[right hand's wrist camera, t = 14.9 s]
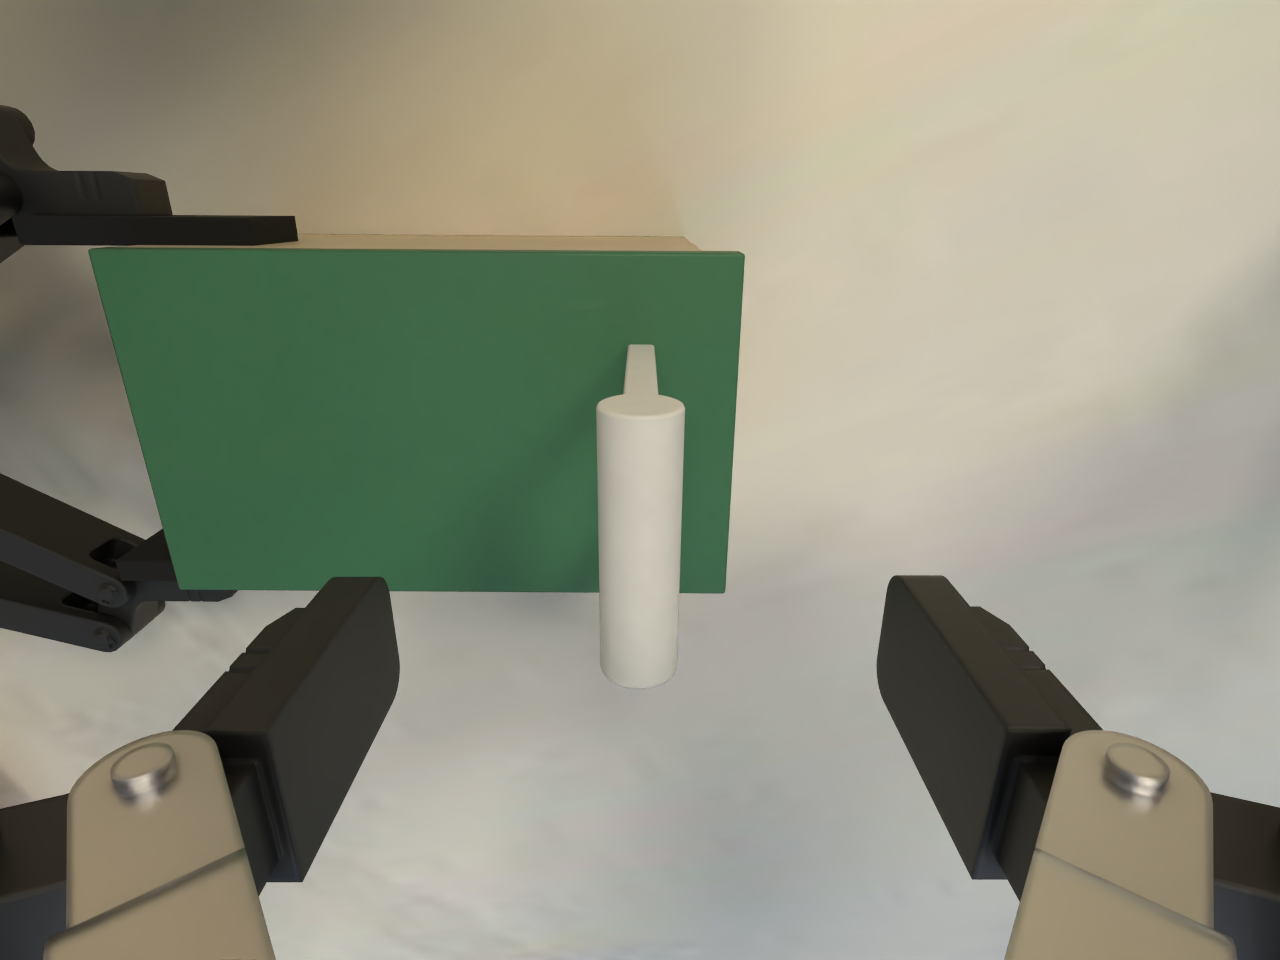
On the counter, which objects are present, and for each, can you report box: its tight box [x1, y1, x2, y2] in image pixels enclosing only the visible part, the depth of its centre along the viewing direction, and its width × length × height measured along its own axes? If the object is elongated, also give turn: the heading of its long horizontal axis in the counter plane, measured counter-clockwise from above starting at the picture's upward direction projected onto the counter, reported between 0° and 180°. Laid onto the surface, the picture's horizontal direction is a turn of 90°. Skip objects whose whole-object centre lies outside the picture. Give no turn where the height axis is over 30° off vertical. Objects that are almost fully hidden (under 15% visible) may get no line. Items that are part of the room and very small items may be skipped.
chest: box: [119, 234, 701, 251], centre depth 24 cm, size 16×10×9 cm, turn 90°
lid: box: [89, 247, 745, 689], centre depth 16 cm, size 17×10×8 cm, turn 90°
